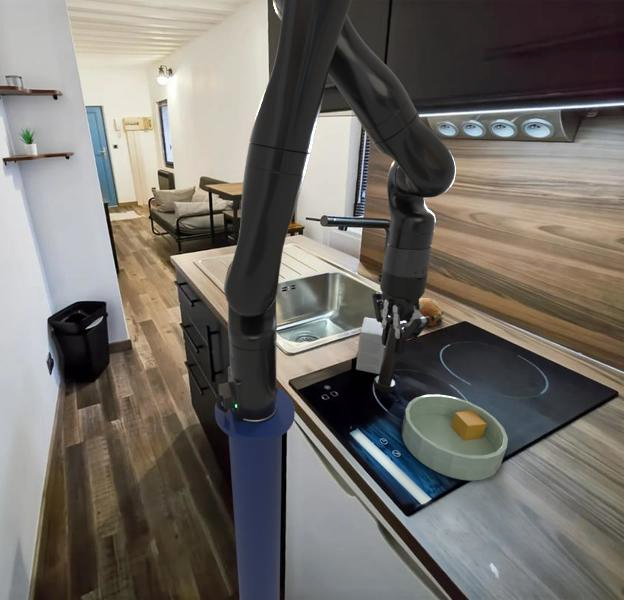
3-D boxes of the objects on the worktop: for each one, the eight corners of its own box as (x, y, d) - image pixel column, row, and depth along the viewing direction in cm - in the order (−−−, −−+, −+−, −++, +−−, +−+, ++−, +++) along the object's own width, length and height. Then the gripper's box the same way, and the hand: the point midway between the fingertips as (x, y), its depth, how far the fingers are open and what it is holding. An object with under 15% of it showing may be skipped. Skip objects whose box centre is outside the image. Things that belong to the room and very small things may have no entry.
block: (463, 440, 65) (468, 426, 64) (450, 426, 69) (454, 412, 67) (482, 438, 66) (486, 423, 64) (468, 424, 69) (472, 410, 67)
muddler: (382, 394, 75) (395, 332, 69) (369, 383, 78) (381, 323, 73) (398, 390, 76) (412, 329, 70) (385, 379, 80) (397, 320, 74)
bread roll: (428, 322, 112) (425, 296, 112) (453, 323, 102) (450, 295, 102) (399, 326, 111) (396, 300, 111) (421, 328, 101) (418, 299, 101)
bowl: (446, 491, 57) (453, 469, 55) (384, 424, 71) (387, 404, 69) (522, 466, 61) (531, 444, 58) (449, 407, 74) (454, 387, 72)
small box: (359, 352, 93) (364, 316, 89) (383, 357, 91) (388, 320, 87) (355, 369, 87) (359, 331, 82) (380, 375, 85) (386, 336, 80)
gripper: (364, 259, 72) (355, 335, 79) (415, 284, 59) (400, 371, 66) (396, 254, 73) (385, 329, 80) (453, 277, 61) (434, 363, 68)
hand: (392, 348), depth 73 cm, fingers closed on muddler, 2 cm apart
